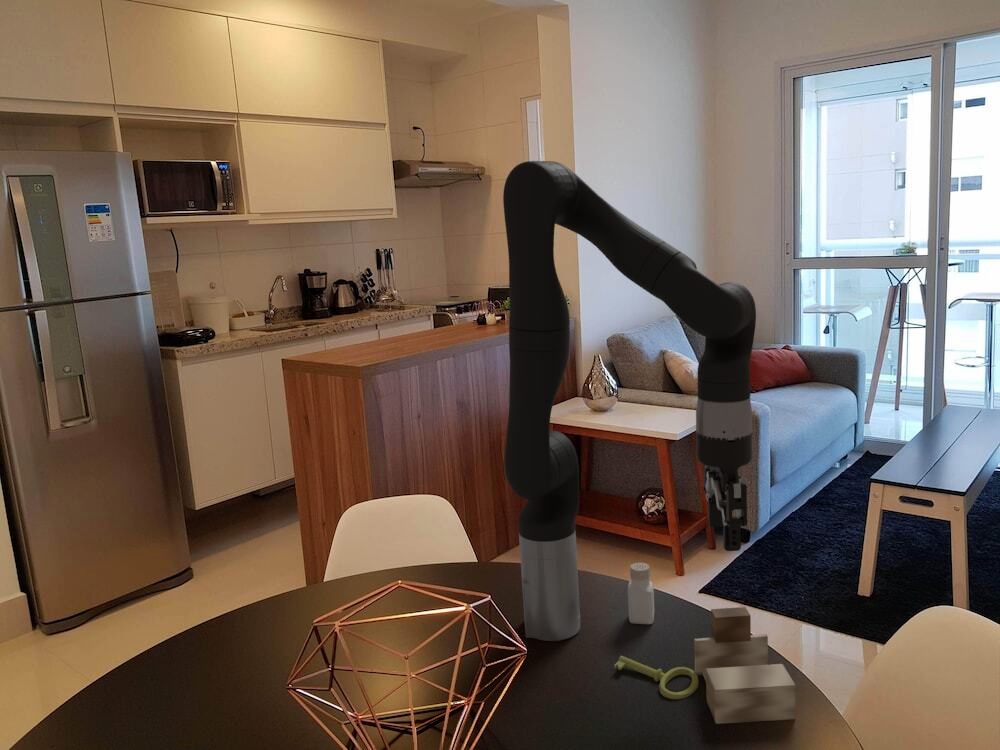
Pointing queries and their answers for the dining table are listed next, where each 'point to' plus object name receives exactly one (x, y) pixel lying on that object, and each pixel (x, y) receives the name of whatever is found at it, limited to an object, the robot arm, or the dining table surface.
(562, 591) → the robot arm
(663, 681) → the key
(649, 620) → the salt shaker
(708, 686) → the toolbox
